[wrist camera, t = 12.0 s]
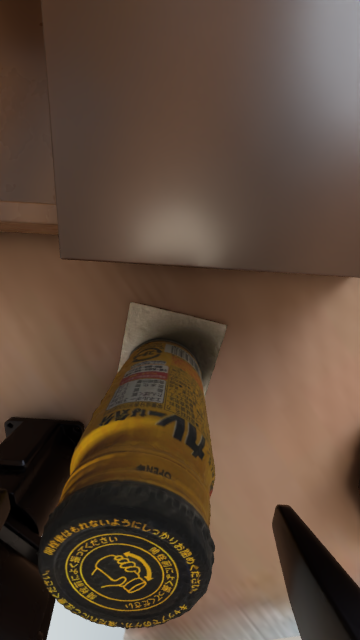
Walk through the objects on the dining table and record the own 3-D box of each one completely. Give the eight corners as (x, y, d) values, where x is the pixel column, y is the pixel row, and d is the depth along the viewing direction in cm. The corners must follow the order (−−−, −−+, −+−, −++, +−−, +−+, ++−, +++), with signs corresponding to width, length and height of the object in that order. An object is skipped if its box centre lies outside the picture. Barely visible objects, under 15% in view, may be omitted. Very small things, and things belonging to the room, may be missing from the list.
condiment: (112, 399, 19) (-5, 630, 7) (131, 301, 16) (5, 399, 5) (197, 417, 19) (221, 667, 7) (226, 324, 17) (323, 466, 5)
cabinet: (117, 259, 16) (59, 259, 8) (114, -24, 12) (2, -483, 5) (353, 274, 16) (503, 286, 8) (425, -5, 12) (813, -429, 5)
